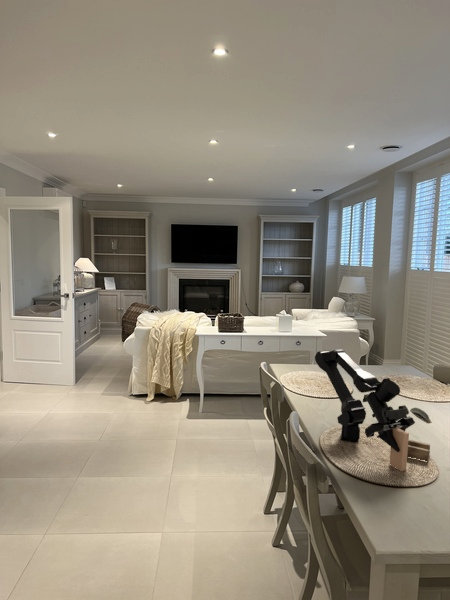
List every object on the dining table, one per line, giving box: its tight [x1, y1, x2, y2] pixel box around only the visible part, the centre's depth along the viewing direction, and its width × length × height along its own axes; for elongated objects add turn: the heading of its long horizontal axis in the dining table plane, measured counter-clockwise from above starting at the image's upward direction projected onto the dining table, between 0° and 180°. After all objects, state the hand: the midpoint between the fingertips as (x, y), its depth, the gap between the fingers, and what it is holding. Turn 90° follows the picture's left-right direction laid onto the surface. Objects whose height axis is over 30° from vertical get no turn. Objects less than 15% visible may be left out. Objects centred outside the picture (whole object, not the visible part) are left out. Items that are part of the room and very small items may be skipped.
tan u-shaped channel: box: [407, 439, 431, 462], centre depth 152 cm, size 11×8×4 cm
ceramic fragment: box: [409, 407, 433, 423], centre depth 189 cm, size 14×5×4 cm, turn 7°
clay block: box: [389, 428, 410, 472], centre depth 142 cm, size 5×2×13 cm, turn 25°
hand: (402, 450), depth 140 cm, fingers open, 3 cm apart
